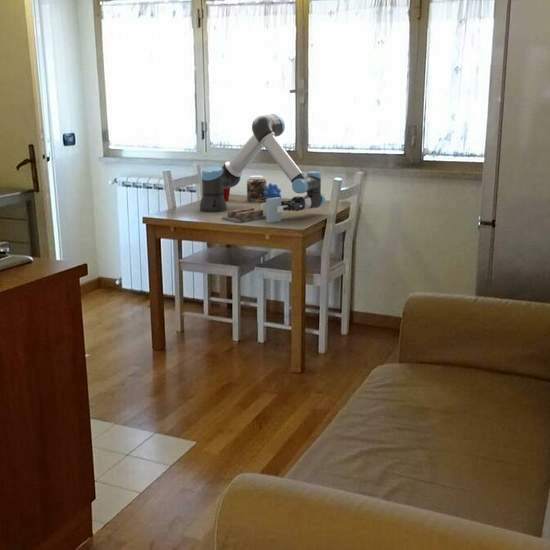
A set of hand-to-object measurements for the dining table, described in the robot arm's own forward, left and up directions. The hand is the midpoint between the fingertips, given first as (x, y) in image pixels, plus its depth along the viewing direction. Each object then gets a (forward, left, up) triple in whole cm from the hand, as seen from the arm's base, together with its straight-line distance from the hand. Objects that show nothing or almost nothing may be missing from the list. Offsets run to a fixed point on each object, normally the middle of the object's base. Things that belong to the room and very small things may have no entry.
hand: (269, 207), depth 363 cm
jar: (-39, +55, -7) cm, 67 cm away
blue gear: (-26, +52, -7) cm, 58 cm away
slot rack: (-16, +3, -7) cm, 18 cm away
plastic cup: (-58, +48, -7) cm, 75 cm away
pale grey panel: (+1, +3, -7) cm, 8 cm away
